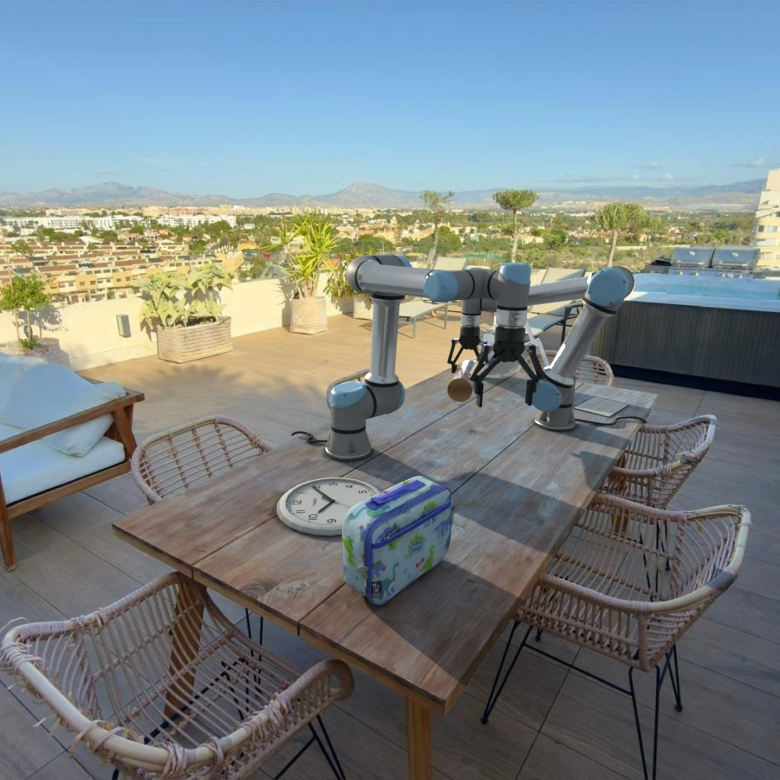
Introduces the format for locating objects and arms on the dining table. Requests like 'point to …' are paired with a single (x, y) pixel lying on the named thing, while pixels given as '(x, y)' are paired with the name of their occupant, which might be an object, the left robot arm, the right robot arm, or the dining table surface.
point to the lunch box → (395, 537)
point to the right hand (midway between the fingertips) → (466, 382)
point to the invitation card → (601, 406)
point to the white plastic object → (506, 366)
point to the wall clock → (322, 504)
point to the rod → (461, 382)
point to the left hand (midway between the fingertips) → (503, 405)
